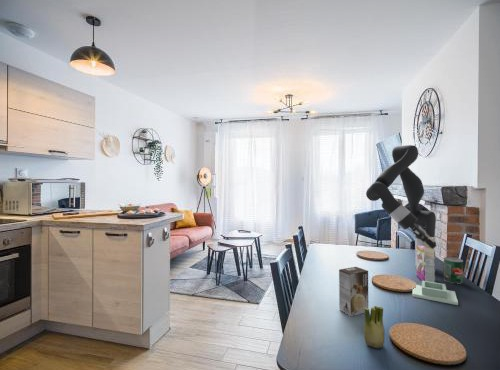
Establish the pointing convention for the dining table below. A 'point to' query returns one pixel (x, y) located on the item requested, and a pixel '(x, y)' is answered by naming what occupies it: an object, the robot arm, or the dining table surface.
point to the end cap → (435, 292)
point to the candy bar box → (424, 265)
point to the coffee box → (353, 290)
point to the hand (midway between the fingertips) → (434, 245)
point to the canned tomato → (453, 270)
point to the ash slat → (428, 249)
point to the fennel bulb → (374, 327)
